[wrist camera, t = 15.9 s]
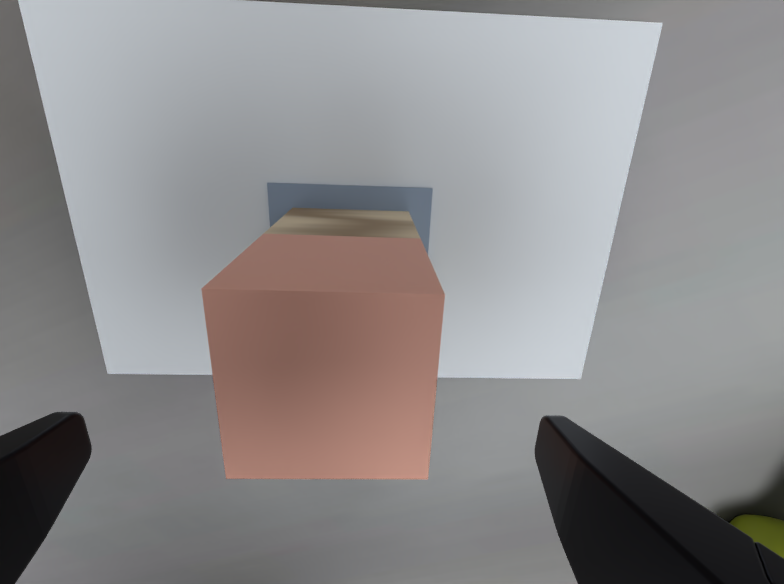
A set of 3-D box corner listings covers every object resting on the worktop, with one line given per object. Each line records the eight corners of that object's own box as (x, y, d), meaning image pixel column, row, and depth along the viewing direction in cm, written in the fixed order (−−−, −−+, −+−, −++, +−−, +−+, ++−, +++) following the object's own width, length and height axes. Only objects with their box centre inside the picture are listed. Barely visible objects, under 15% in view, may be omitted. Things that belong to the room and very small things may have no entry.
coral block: (272, 370, 15) (226, 478, 10) (263, 233, 13) (201, 288, 8) (411, 372, 15) (428, 479, 10) (420, 238, 13) (445, 294, 9)
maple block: (297, 314, 20) (273, 370, 15) (292, 207, 18) (263, 233, 13) (403, 316, 20) (411, 372, 15) (408, 211, 18) (420, 238, 13)
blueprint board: (119, 363, 21) (105, 376, 20) (36, -4, 16) (10, -14, 15) (572, 368, 23) (582, 380, 21) (646, 29, 17) (665, 21, 16)
